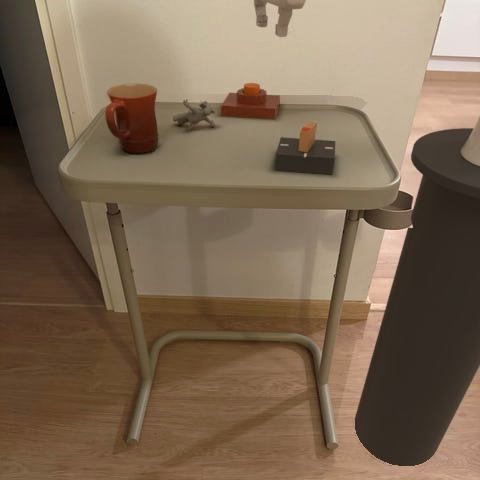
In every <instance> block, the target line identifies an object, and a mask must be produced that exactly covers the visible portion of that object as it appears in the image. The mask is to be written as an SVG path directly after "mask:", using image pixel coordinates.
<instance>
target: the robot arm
mask: <svg viewBox="0 0 480 480" xmlns="http://www.w3.org/2000/svg"><path fill="white" fill-rule="evenodd" d="M306 1H307V0H253V6H254V11H255V15H256V18H255V19H256V20H255V25H256V26H257V27H259V28H267V26H268V20H269V16H268V15H267V4H270V5H273V6H275V7H277V15H278V20H277V23H276V24H275V27H274V29H275V31H274V34H275V35H276V36H277V37H279V38H286V37H287V36H288V33H289V31H288V30H289V25H290V22H291V19H292V16H293V11H294V10H302V9H303V8H304V6H305V4H306ZM473 128H474V129H473V131H472V133H471V134H470V136H469V138H468V140H467V141H466V143H465V144H464V146H463V147H462V149H461V151H460V153H461V155H462V156H463V157H464V158H465V159H466V160H467V161H469V162H471V163H473V164H475V165H477V166H480V115H479V116H478V118H477V121H476V122H475V125H474V127H473Z"/></svg>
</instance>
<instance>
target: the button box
mask: <svg viewBox="0 0 480 480" xmlns="http://www.w3.org/2000/svg"><path fill="white" fill-rule="evenodd" d="M280 105H281V95H280V94H267V90H266V89H264V88H260V93H259V94H245V93H244V87H243V88H239V89H237V91H236V92H228V94H227V96H226V97H225V98H224V100H223V102H222V103H221V104H220V113H221V114H220V115H221V117H236V118H248V119H249V118H250V119H265V120H266V119H267V120H276V116H277V114H278V111H279V108H280Z"/></svg>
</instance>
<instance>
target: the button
mask: <svg viewBox="0 0 480 480" xmlns="http://www.w3.org/2000/svg"><path fill="white" fill-rule="evenodd" d="M243 88H244V93H245V94H259V93H260V89H261V84H259V83H256V82H248V83H244V84H243Z"/></svg>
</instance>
